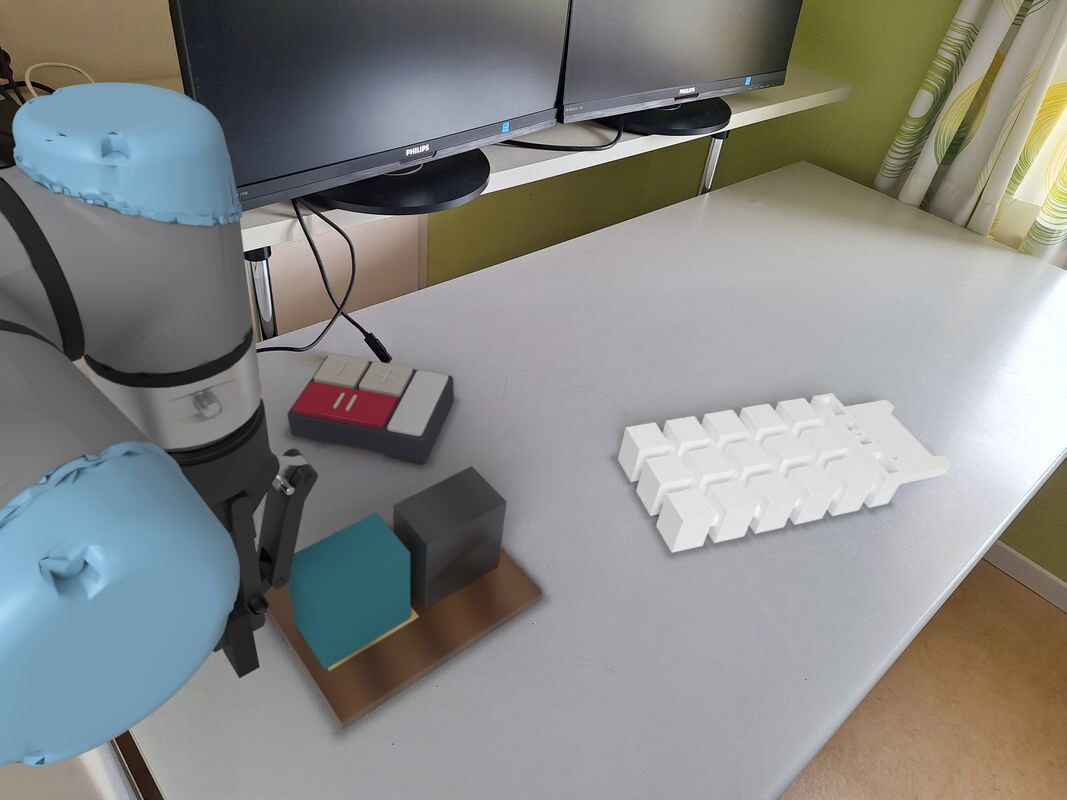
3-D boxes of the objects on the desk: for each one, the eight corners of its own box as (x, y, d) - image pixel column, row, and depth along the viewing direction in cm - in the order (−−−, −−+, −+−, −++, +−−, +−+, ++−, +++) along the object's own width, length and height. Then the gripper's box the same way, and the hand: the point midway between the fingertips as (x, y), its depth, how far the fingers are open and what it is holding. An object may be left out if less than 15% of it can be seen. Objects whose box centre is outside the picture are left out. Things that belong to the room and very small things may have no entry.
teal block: (324, 670, 60) (315, 605, 54) (295, 625, 63) (283, 558, 57) (410, 618, 64) (410, 552, 59) (379, 578, 67) (376, 511, 61)
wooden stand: (342, 730, 58) (333, 660, 51) (261, 602, 66) (244, 526, 59) (541, 600, 69) (555, 527, 62) (452, 502, 76) (456, 429, 70)
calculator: (327, 348, 87) (454, 370, 85) (331, 377, 90) (454, 399, 88) (284, 409, 79) (423, 435, 77) (290, 439, 81) (425, 465, 80)
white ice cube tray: (625, 427, 80) (888, 383, 91) (617, 459, 83) (872, 413, 94) (683, 521, 71) (967, 460, 82) (671, 552, 74) (946, 490, 85)
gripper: (70, 506, 33) (167, 756, 48) (337, 404, 41) (350, 649, 56) (21, 410, 37) (125, 669, 52) (273, 333, 45) (301, 579, 60)
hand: (241, 658), depth 54 cm, fingers closed
